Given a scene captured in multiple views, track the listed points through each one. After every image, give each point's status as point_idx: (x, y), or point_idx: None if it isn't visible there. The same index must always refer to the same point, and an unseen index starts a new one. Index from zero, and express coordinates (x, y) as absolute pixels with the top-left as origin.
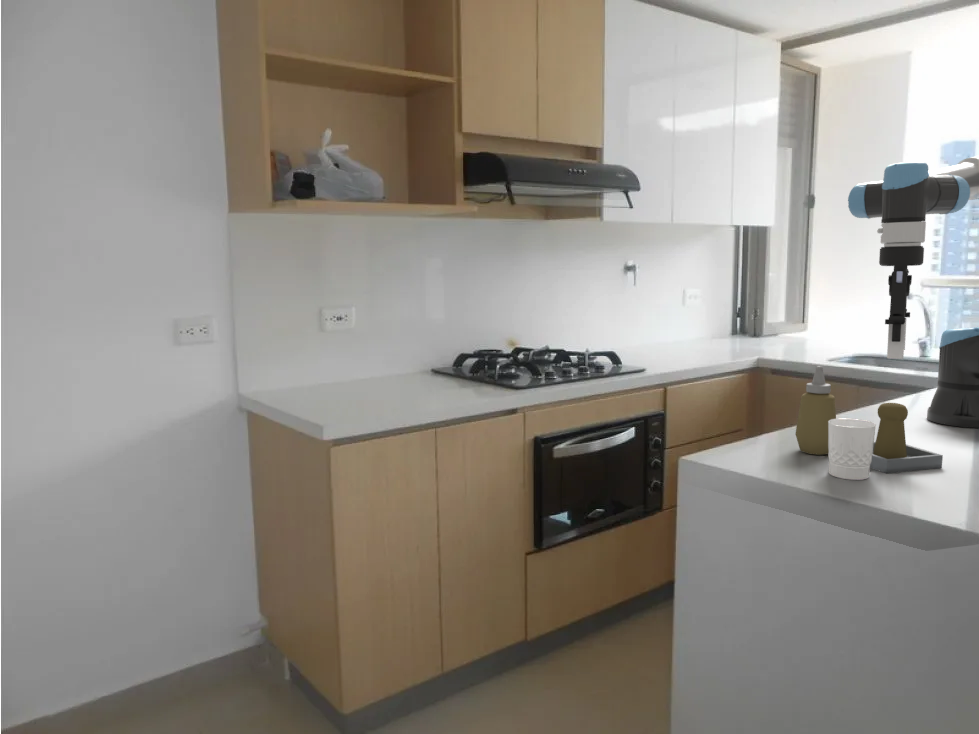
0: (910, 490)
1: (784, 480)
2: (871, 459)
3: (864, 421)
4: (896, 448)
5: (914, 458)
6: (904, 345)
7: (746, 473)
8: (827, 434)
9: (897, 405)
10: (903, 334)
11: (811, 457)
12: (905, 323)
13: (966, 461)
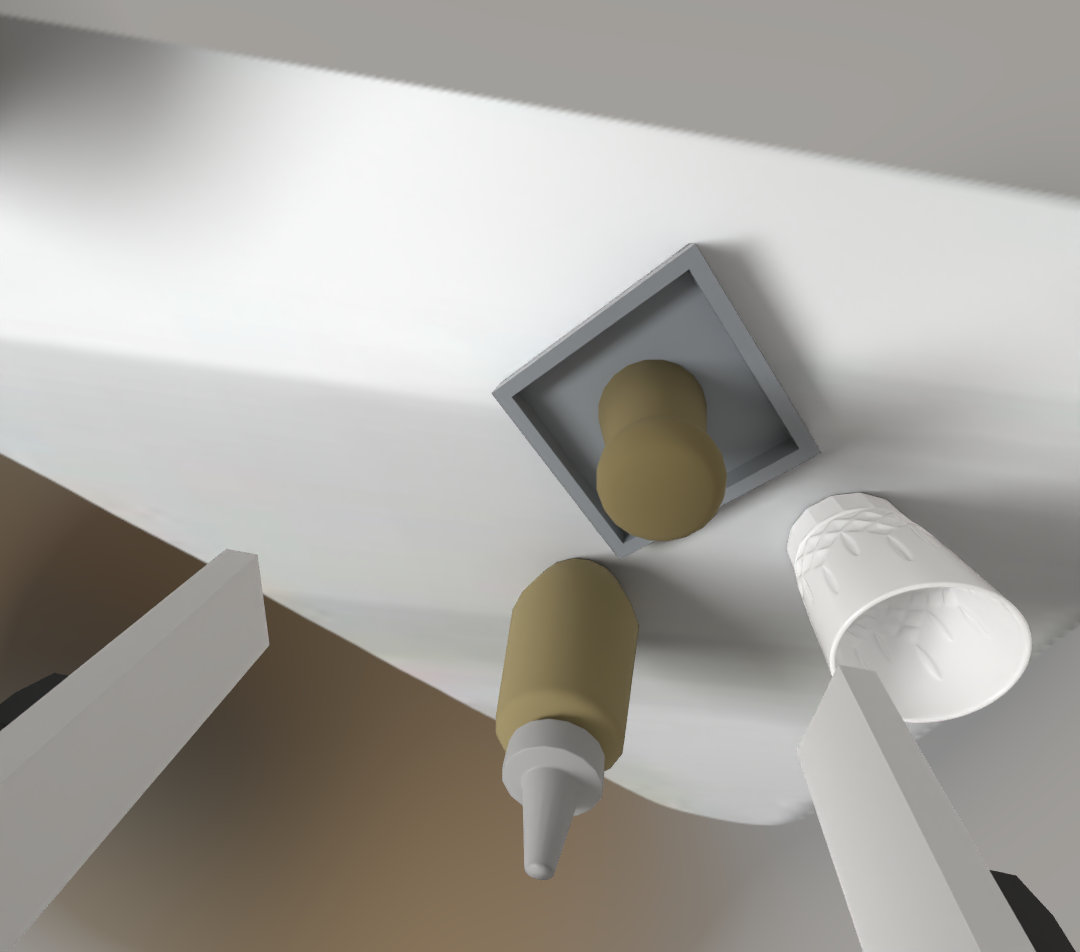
0: (1020, 394)
1: None
2: (889, 515)
3: (869, 606)
4: (704, 414)
5: (762, 356)
6: (229, 581)
7: None
8: (629, 616)
9: (698, 483)
10: (1021, 945)
11: (649, 608)
12: (13, 779)
13: (554, 126)
